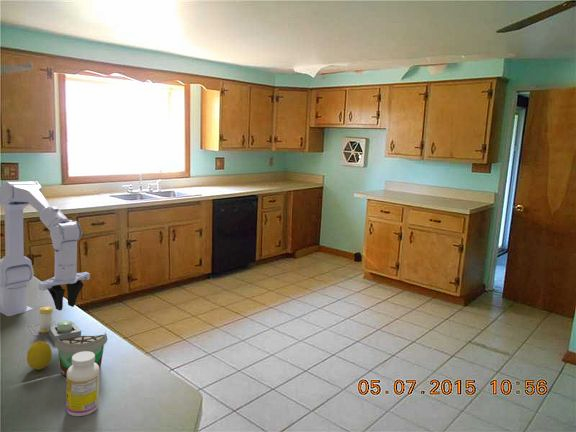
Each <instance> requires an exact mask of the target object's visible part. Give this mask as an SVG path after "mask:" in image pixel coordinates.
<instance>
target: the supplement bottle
mask: <svg viewBox="0 0 576 432" xmlns="http://www.w3.org/2000/svg"><path fill="white" fill-rule="evenodd" d="M94 361H95V354H94V353H93V352H90V351H83V352H78V353H76V354H74V355H73V356H72V366H70V367H69V369H68V370H67V378H66V388H65V389H66V392H65V393H66V394H65V395H66V398H65V399H66V400H65V401H66V402H65V403H66V404H65V407H66V408H65V409H66V412H67V413H68V415H70V416H73V417H84V416H88V415H91V414H92V413H93V412H95V411H96V410H97V409H98V407H99V405H100V403H99V401H100V400H99V399H100V371H99V370H101V368H100V369H99V366H98V364H96V363H95V362H94Z"/></svg>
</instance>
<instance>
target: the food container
mask: <svg viewBox="0 0 576 432" xmlns="http://www.w3.org/2000/svg"><path fill="white" fill-rule="evenodd" d="M107 342H108V335H107V333H104V334H100V335H99V334H98V335H81V336H79V337H75V338H70V339H62V340H59V339H58V337H57V339H56V341H55V343H54V346H55V348H56V349H57V350H58V351H57V352H58V359H59V366H60V368H59V369H60V374H61V376H62V377H63V378H65V379H67V370H68V369H69V367H70V366H72V356H73V355H74V354H76V353H78V352H83V351H90V352H93V353H94V354H95V361H94V362H95V363H96V364H98V366H99V369H100V370H101V368H102V363H103V362H102V359H103V356H104V355H103V353H104V348H105V347H104V346H105V344H106V343H107ZM100 370H99V372H100Z"/></svg>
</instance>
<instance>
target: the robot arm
mask: <svg viewBox="0 0 576 432" xmlns="http://www.w3.org/2000/svg"><path fill="white" fill-rule="evenodd" d="M29 205H30V206H31V207H32V208H33V209H34V210H36V212H38V213H39V219H40V221H41V222H42V223H43V224H44V226H45V227H46V228H47V229H48V231H50V232H49V235H50V239H51V242H52V243H51V244H52V249H54V273H53V274H54V276H53V277H51V278H49V279H46V280H43V281H40V282H38V290H40V291H42V292H43V291H48V292H49V294H50V296H51V297H52V301H53V304H54V306H55V309H56V310H57V311H59V312H60V311H63V304H64V303H63V302H64V295H65V293H66V291H67V305H68V306H69V307H72V308H74V307H75V306H76V301H77V299H78V297H79V294H80V292H81V290H82V289H83V287H84V283H83V282H81V281H86V280H90V278H91V273H89V272H87V271H85V272H78V271H77V267H78V266H77V265H78V264H77V262H78V241H80V240H81V238H82V236H83V231H82V230H83V229H82V227H81V225H80V223H79V222H78V221H77V220H72V219H69V218H68V217H67V216H66V215H64V213H63V212H62V211H61V210H60V208H59V207H57V206H54V205H52V206H51V205H50V203H49V202H48V200H47V199H46V198H45V196H44V195H43V187H42V185H41V184H40V183H39V181H37V180H32V181H30V180H29V181H4V182H3V183H2V184H1V185H0V206H1V207H3V208H4V244H5V245H4V246H5V247H4V248H5V256H3V257H2V258H1V259H0V313H1V314H3V315H5V316H7V317H11V316H15V315H19V314H22V313H26V312H29V311H33V310H34V309H33V307H31V306H28V285H30V282H31V281H32V280H33V278H34V268H33V264H32V262H33V261H32V260H31V259H30V258H29V257H27V256H25V250H24V248H25V247H24V245H25V244H24V242H25V241H24V239H25V238H24V209H26V207H27V206H29ZM64 285H66V289H65V288H63V287H62V286H64Z"/></svg>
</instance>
